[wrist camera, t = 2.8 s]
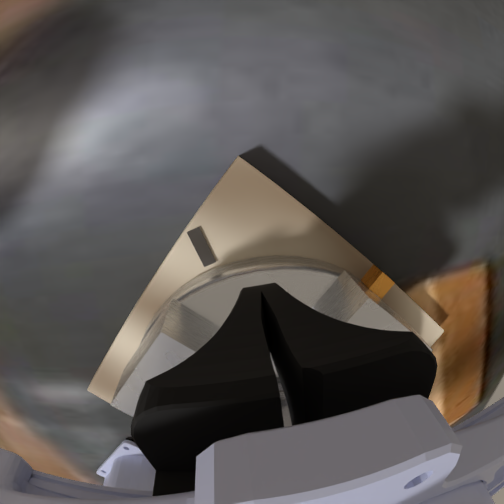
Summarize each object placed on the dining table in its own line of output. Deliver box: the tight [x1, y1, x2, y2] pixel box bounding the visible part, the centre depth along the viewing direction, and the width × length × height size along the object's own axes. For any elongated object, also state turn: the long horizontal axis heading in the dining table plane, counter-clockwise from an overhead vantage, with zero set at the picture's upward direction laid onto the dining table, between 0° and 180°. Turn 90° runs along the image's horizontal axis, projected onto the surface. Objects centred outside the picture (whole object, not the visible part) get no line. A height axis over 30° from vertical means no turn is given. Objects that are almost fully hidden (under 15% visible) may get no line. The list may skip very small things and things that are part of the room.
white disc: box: [110, 255, 433, 427], centre depth 14 cm, size 16×15×4 cm
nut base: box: [87, 156, 444, 404], centre depth 17 cm, size 17×17×1 cm
